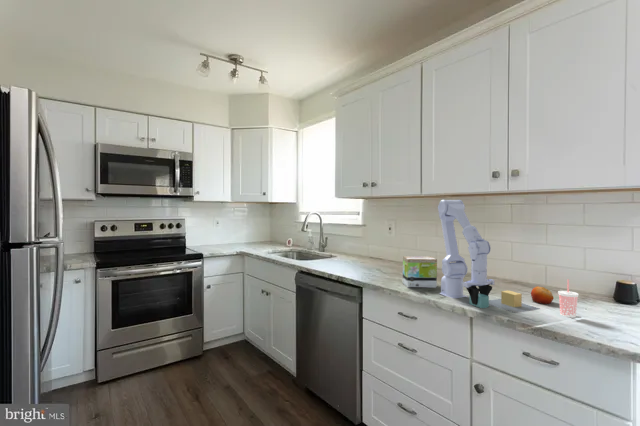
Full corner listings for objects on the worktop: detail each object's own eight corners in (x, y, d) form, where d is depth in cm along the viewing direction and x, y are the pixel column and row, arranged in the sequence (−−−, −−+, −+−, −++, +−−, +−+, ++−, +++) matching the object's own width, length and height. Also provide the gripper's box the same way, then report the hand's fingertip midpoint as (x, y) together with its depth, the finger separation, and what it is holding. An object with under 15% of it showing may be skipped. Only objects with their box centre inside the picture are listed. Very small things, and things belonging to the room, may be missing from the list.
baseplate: (480, 302, 141) (480, 301, 141) (505, 299, 146) (505, 298, 146) (514, 314, 126) (514, 312, 126) (540, 310, 131) (540, 308, 131)
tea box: (407, 288, 167) (407, 258, 167) (402, 283, 177) (402, 255, 177) (437, 287, 167) (437, 258, 167) (430, 283, 177) (430, 255, 177)
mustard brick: (501, 303, 138) (501, 291, 138) (508, 302, 140) (508, 290, 139) (514, 307, 133) (514, 294, 132) (521, 306, 134) (521, 293, 134)
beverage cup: (569, 313, 126) (569, 277, 126) (582, 319, 120) (583, 280, 120) (553, 314, 126) (554, 277, 125) (566, 319, 120) (566, 281, 119)
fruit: (527, 295, 146) (538, 281, 143) (545, 308, 142) (557, 293, 139) (524, 299, 140) (535, 285, 137) (543, 312, 136) (555, 297, 133)
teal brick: (469, 305, 138) (469, 293, 137) (476, 304, 139) (477, 292, 139) (481, 309, 132) (481, 297, 132) (488, 308, 133) (488, 296, 133)
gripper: (472, 273, 129) (472, 308, 129) (500, 270, 134) (500, 304, 134) (459, 270, 135) (459, 303, 136) (486, 267, 140) (486, 299, 141)
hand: (478, 303), depth 135 cm, fingers closed on teal brick, 4 cm apart
